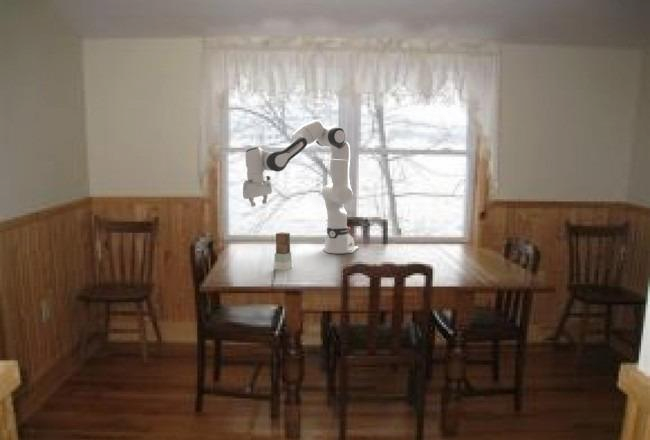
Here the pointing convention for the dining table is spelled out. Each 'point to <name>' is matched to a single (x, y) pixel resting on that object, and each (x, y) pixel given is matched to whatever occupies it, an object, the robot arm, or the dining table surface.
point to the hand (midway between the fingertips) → (259, 205)
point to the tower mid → (283, 257)
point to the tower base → (283, 265)
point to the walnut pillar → (282, 243)
